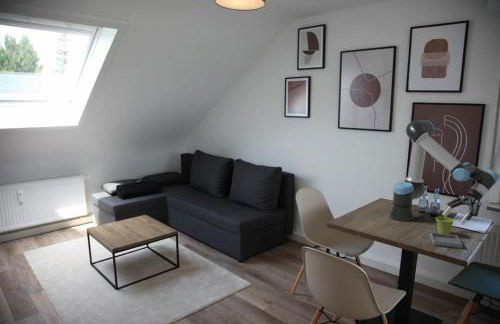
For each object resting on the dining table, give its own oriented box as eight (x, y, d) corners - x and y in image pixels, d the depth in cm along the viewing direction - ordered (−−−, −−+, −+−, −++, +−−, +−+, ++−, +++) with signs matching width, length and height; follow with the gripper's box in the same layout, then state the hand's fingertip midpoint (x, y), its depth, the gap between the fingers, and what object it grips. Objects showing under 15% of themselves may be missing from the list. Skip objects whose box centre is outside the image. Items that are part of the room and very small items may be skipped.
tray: (433, 245, 184) (434, 241, 183) (429, 236, 196) (430, 232, 196) (462, 248, 180) (462, 244, 179) (456, 239, 192) (456, 235, 191)
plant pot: (431, 230, 206) (432, 216, 204) (446, 230, 207) (447, 216, 205) (441, 236, 197) (442, 222, 195) (456, 235, 197) (458, 221, 196)
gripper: (499, 202, 189) (473, 230, 189) (463, 191, 213) (440, 216, 213) (492, 193, 187) (466, 222, 187) (456, 183, 211) (433, 209, 211)
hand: (452, 219), depth 200 cm, fingers open, 13 cm apart
